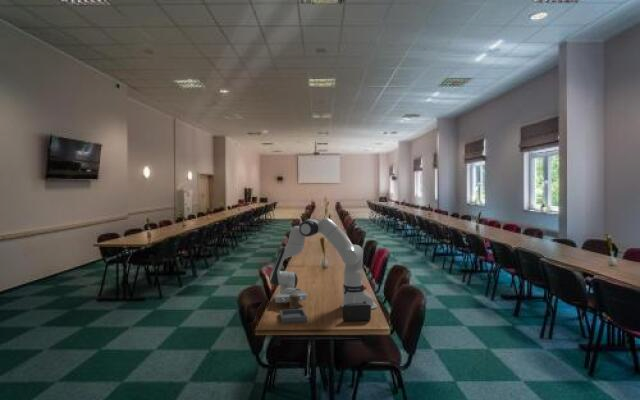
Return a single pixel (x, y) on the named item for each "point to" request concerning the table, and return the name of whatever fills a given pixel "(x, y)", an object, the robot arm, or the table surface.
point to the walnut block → (294, 301)
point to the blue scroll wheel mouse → (356, 312)
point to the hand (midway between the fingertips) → (293, 301)
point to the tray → (293, 316)
